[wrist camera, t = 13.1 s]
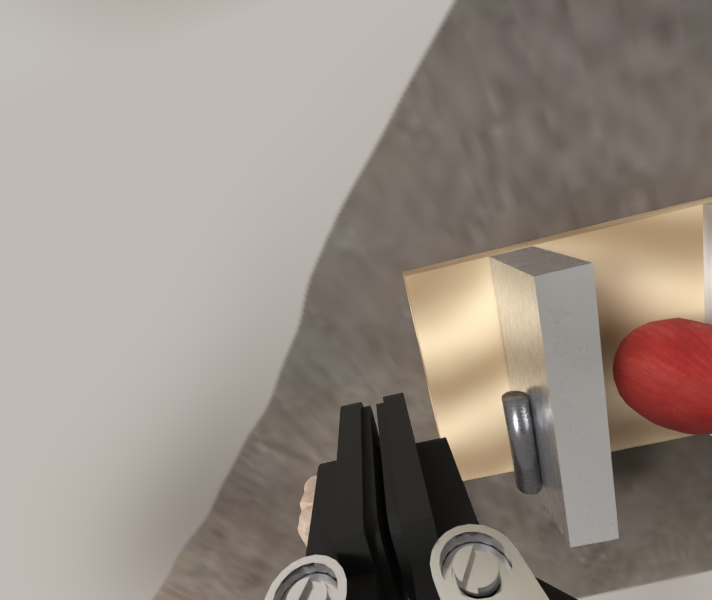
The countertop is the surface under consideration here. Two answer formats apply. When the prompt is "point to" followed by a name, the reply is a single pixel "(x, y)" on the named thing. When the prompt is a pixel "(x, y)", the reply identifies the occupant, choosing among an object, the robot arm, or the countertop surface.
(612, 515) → the vise jaw
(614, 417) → the vise base
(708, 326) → the onion
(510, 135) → the countertop surface
